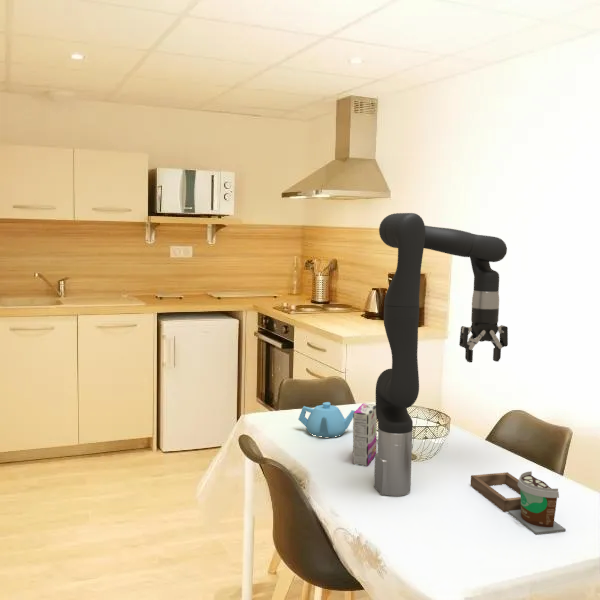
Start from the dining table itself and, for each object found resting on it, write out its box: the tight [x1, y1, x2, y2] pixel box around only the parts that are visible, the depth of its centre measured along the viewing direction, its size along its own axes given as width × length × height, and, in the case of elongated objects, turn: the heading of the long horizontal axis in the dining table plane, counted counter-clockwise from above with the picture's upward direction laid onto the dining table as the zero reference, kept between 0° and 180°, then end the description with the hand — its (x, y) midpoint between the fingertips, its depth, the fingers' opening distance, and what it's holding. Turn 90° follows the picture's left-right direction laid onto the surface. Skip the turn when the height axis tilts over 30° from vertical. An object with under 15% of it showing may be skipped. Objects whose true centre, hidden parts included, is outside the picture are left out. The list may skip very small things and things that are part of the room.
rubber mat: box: [507, 510, 567, 536], centre depth 161 cm, size 8×12×1 cm, turn 14°
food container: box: [518, 470, 560, 527], centre depth 161 cm, size 12×6×10 cm, turn 13°
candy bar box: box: [352, 402, 378, 467], centre depth 202 cm, size 11×5×16 cm, turn 160°
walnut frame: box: [470, 472, 521, 513], centre depth 176 cm, size 11×17×3 cm, turn 14°
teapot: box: [298, 401, 356, 438], centre depth 229 cm, size 15×15×11 cm
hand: (482, 361), depth 191 cm, fingers open, 8 cm apart
